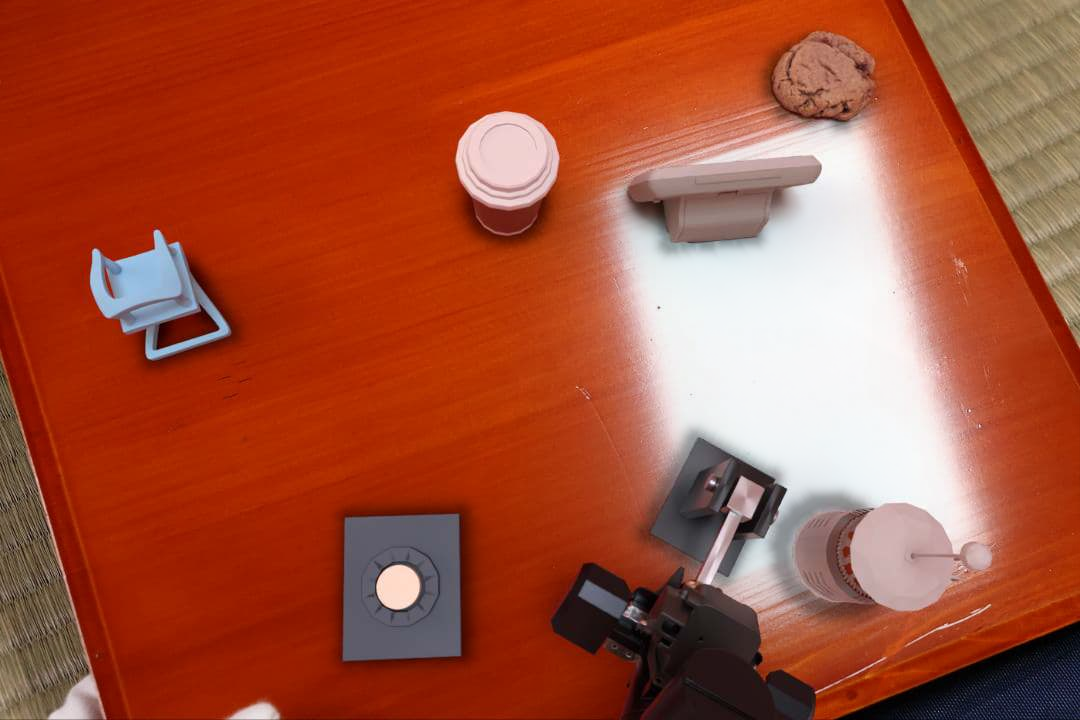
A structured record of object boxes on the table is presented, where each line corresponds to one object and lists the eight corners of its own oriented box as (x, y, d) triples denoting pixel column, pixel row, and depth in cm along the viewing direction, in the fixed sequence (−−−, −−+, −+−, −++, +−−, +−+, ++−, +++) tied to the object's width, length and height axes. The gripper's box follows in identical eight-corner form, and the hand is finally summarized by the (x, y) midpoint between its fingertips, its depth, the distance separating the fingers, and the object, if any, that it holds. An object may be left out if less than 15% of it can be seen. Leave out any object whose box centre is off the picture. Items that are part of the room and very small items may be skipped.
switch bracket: (724, 576, 78) (765, 581, 66) (647, 533, 79) (673, 529, 67) (771, 480, 81) (819, 467, 69) (696, 438, 81) (730, 418, 69)
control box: (462, 653, 76) (460, 658, 72) (347, 658, 75) (339, 663, 71) (460, 514, 79) (458, 512, 75) (349, 518, 78) (341, 516, 74)
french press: (786, 493, 80) (912, 466, 56) (909, 514, 80) (1087, 496, 56) (776, 601, 78) (902, 623, 54) (902, 622, 78) (1085, 653, 54)
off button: (421, 607, 73) (420, 608, 71) (378, 609, 73) (376, 610, 71) (421, 563, 74) (419, 564, 72) (379, 565, 74) (376, 565, 72)
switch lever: (697, 630, 68) (709, 630, 65) (661, 609, 68) (671, 609, 65) (759, 496, 71) (772, 491, 68) (725, 477, 72) (737, 471, 69)
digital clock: (787, 172, 88) (826, 121, 77) (785, 256, 86) (824, 215, 75) (628, 156, 87) (645, 102, 77) (622, 240, 85) (639, 197, 75)
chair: (209, 256, 83) (161, 207, 71) (232, 335, 81) (187, 299, 69) (129, 281, 82) (67, 236, 70) (151, 362, 80) (91, 329, 69)
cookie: (752, 65, 90) (761, 49, 87) (837, 25, 92) (848, 8, 89) (802, 144, 88) (813, 130, 85) (888, 101, 90) (901, 86, 87)
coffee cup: (459, 163, 86) (453, 101, 74) (550, 161, 87) (558, 100, 75) (461, 249, 84) (455, 200, 72) (554, 247, 85) (563, 198, 73)
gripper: (860, 755, 51) (862, 578, 64) (582, 595, 52) (639, 454, 65) (763, 838, 57) (782, 661, 70) (516, 694, 58) (580, 547, 71)
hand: (698, 581), depth 69 cm, fingers closed on switch lever, 3 cm apart
